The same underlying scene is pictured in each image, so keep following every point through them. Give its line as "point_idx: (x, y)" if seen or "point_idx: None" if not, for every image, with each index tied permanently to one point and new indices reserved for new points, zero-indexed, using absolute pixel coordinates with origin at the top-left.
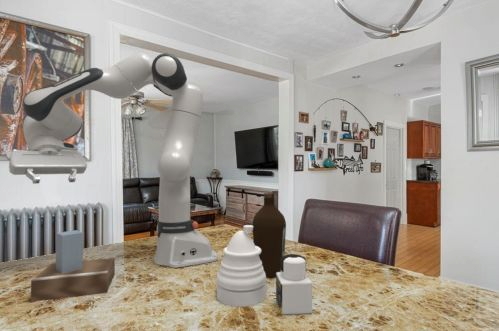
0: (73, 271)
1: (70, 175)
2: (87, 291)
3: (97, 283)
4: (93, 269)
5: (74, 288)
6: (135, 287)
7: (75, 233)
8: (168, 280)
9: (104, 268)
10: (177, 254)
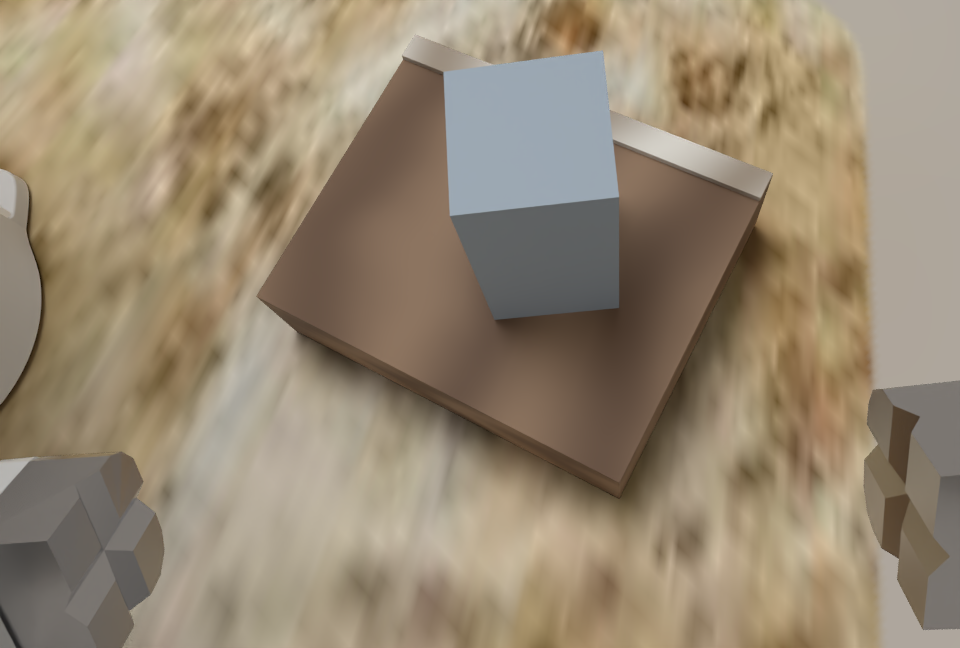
0: None
1: (32, 530)
2: None
3: None
4: (445, 152)
5: None
6: (314, 72)
7: (499, 74)
8: (161, 52)
9: (393, 126)
10: None
